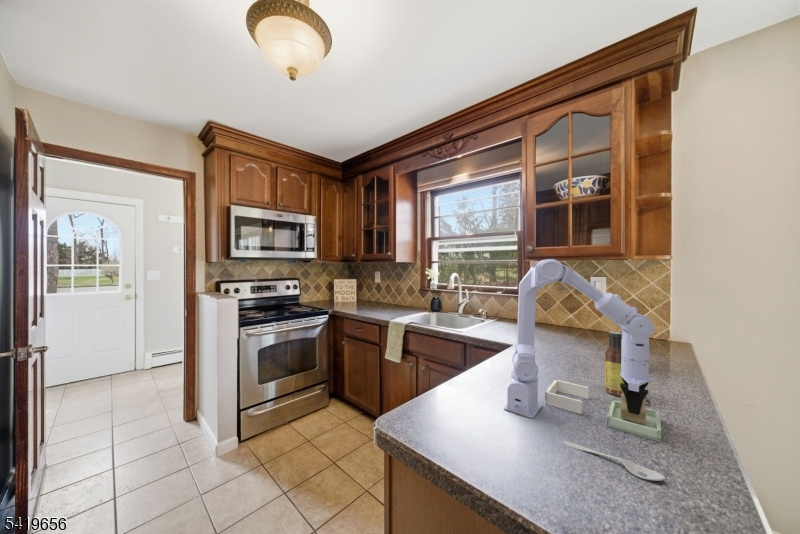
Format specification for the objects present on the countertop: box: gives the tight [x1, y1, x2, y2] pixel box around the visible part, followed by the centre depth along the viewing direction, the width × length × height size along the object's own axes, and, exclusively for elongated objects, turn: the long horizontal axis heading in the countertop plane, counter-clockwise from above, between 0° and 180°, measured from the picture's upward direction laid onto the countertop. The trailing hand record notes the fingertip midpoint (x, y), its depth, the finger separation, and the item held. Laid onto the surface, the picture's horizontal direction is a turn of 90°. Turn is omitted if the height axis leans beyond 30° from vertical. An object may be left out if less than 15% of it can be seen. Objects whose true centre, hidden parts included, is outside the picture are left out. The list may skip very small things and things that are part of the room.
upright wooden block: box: [620, 391, 652, 425], centre depth 77 cm, size 4×6×6 cm
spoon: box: [562, 440, 666, 482], centre depth 64 cm, size 4×21×2 cm, turn 42°
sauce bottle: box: [604, 331, 624, 397], centre depth 96 cm, size 7×6×20 cm
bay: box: [544, 379, 590, 415], centre depth 90 cm, size 13×10×4 cm
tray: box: [607, 399, 662, 443], centre depth 77 cm, size 13×10×2 cm
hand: (634, 409), depth 77 cm, fingers open, 5 cm apart
